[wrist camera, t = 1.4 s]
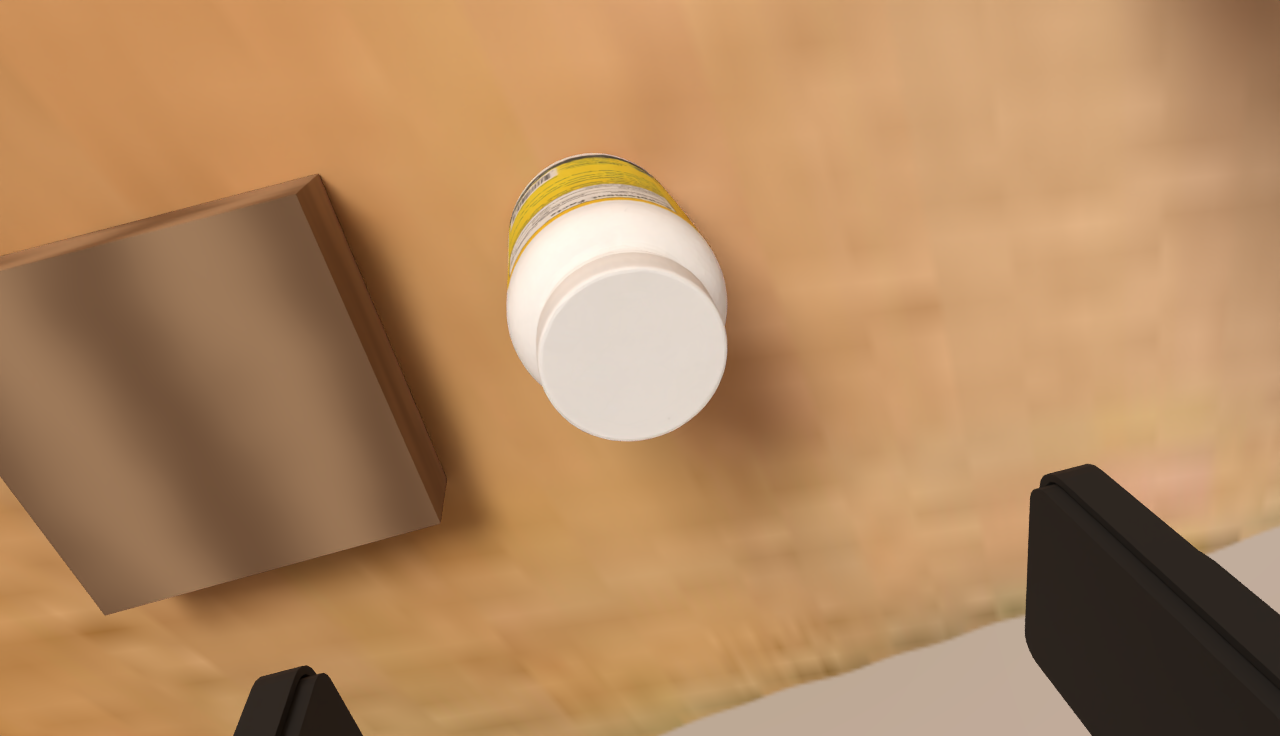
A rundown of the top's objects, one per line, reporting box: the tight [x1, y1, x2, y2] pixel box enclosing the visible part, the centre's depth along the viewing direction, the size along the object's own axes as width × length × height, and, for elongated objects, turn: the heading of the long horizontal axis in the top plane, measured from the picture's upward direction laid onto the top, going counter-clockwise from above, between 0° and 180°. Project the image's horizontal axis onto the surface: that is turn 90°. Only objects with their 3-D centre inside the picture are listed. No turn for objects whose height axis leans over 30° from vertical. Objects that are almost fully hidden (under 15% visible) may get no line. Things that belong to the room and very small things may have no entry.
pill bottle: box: [507, 153, 727, 441], centre depth 23 cm, size 6×6×11 cm
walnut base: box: [0, 174, 447, 615], centre depth 27 cm, size 13×13×3 cm
